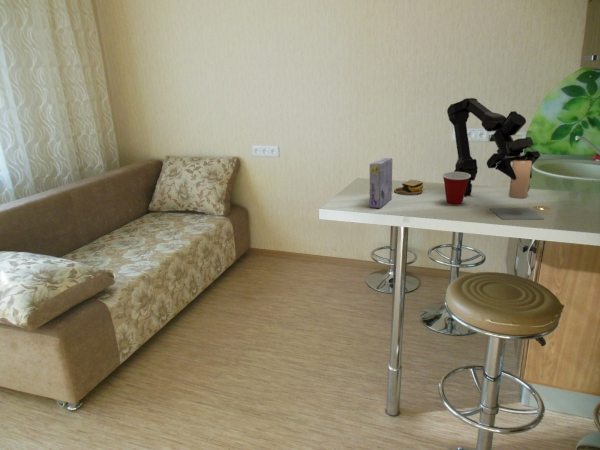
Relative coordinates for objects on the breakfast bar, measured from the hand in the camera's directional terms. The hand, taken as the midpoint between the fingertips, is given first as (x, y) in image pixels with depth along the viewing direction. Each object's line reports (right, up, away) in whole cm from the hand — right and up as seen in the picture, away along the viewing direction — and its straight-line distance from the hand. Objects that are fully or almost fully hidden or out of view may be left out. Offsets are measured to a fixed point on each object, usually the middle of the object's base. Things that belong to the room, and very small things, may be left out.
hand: (522, 178), depth 156 cm
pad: (0, -12, +5) cm, 13 cm away
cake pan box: (-45, -8, +26) cm, 53 cm away
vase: (+16, -4, +34) cm, 37 cm away
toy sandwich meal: (-30, -2, +44) cm, 53 cm away
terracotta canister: (0, -6, +3) cm, 7 cm away
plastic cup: (-17, -8, +22) cm, 29 cm away
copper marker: (+14, -10, +13) cm, 21 cm away
